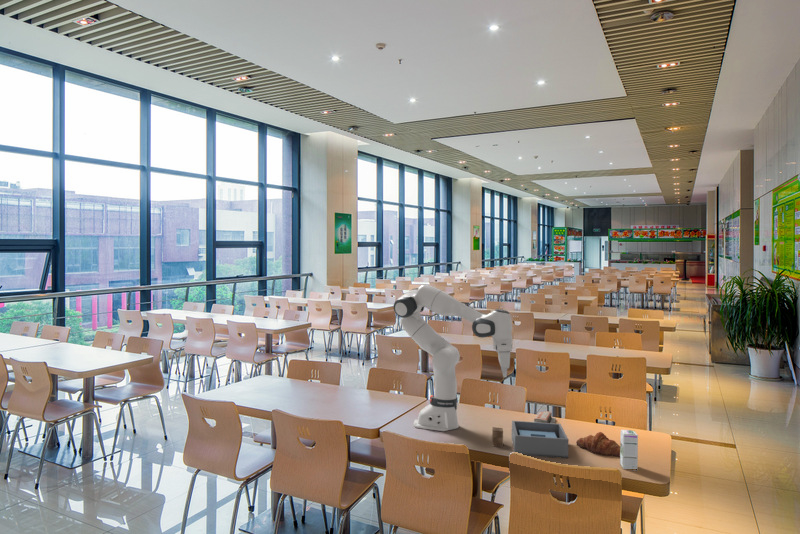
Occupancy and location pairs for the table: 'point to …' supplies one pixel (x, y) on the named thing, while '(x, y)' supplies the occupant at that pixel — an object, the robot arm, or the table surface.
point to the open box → (539, 439)
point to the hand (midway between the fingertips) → (504, 374)
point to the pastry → (599, 445)
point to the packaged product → (544, 417)
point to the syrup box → (629, 449)
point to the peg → (497, 436)
